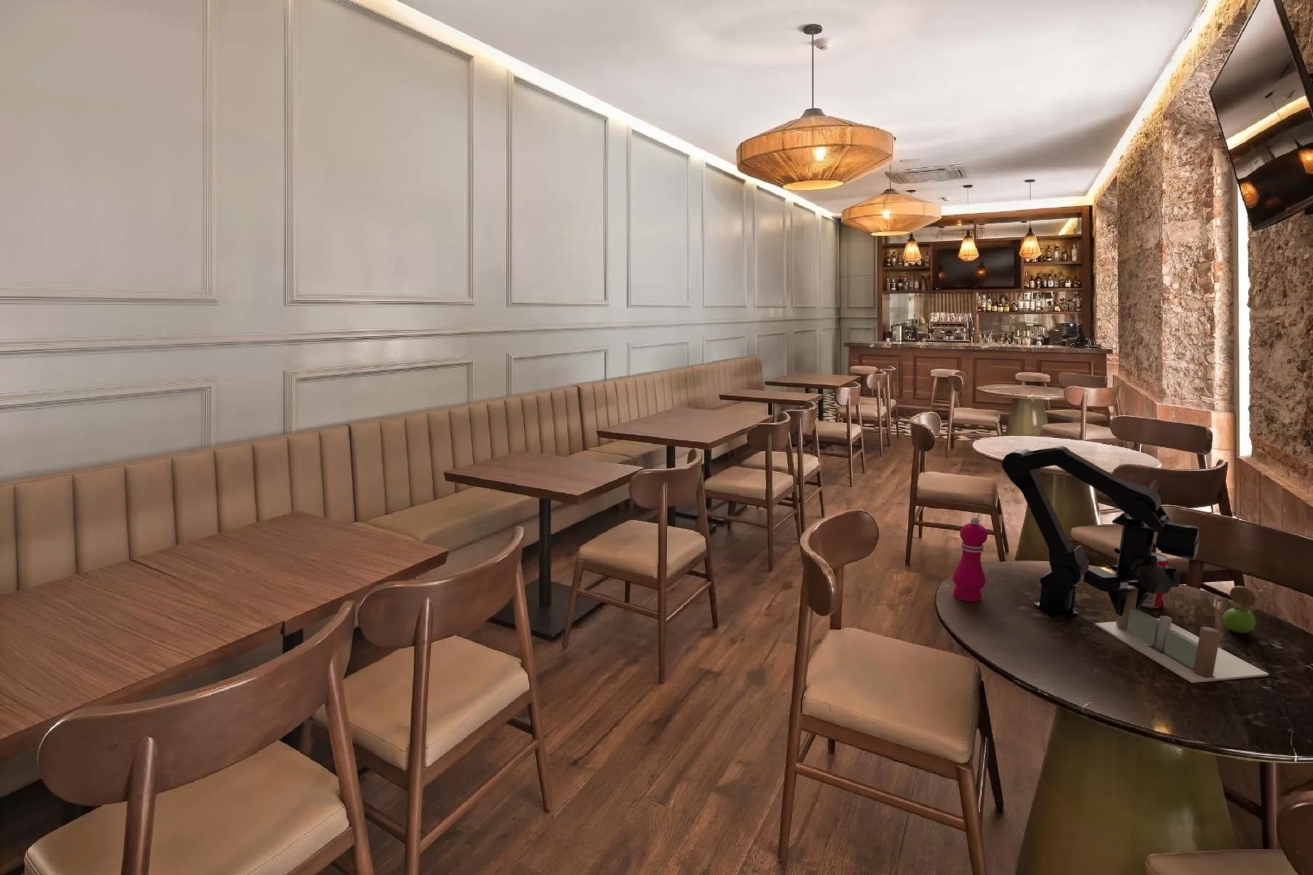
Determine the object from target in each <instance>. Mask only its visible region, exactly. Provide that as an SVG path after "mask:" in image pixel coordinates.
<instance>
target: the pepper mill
mask: <svg viewBox="0 0 1313 875" xmlns="http://www.w3.org/2000/svg"><path fill="white" fill-rule="evenodd" d="M979 523H980V520H979V518H978V517H972V518H971V519H970V523H966V524H964V525H962V527H961V529H960V530H959V537H960V539H961V543H960V544H961V545H960V549H961V553H962V554H961V558H960V561H959V563H958V564H957V566H956V567H955V569H954V572H953V574H952V582H953V584H955V586H954V587H953V592H952V594H953V596H954V598H956V599H958V600H961V601H964V602H969V603H970V602H971V603H973V602H974V603H976V602H979V601H981V599H982V596H983V595H982V594H983V591H982V589H983V588H984V587H985V585H986V575H985V573H984V569H983V567H982V566H983V565H982V562H981V558H982V557H981V556H982V552H984V548H985V545H984V544H985V543H986V542H987V539H988V531H987V529H986V528H985V527H984V526H983V525H981V524H979Z"/></svg>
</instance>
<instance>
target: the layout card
mask: <svg viewBox="0 0 1313 875" xmlns="http://www.w3.org/2000/svg"><path fill="white" fill-rule="evenodd" d="M1156 619H1157V620H1160V617H1158V618H1156ZM1116 622H1117V621H1107V622H1106V621H1105V622H1096V623H1094V625H1095V626H1096V627H1098V628H1099V629H1101V630H1103V631H1105V632H1106V633H1107V634H1109V635H1111V636H1112V637H1114V638H1116V639H1118V640H1119V641H1121V642H1123V643H1124V644H1126V645H1128V646H1130V647H1131V648H1133V649H1134V650H1136V651H1138V652H1139V653H1140V654H1143V655H1145V656H1146V657H1148V658H1149V659H1151V660H1152V661H1155V663H1158V664H1159V665H1161V666H1163V667H1165V668H1166V669H1168V670H1169V671H1171V672H1173V673H1174V674H1176V675H1178V676H1180V677H1181V678H1182V679H1184V680H1186V681H1188V682H1189V683H1191V684H1193V683H1205V682H1206V683H1207V682H1217V681H1227V680H1237V679H1248V678H1257V677H1259V678H1260V677H1269V673H1268V672H1266V671H1264V670H1263V669H1260V668H1258V667H1256V666H1254V665H1252V664H1251V663H1249V662H1247V661H1245V660H1243V659H1242V658H1239V657H1238V656H1235V655H1233V654H1231V653H1230V652H1227V651H1226V650H1224V649H1223V648H1220V647H1218V651H1217V656H1216V662H1215V667H1214V673H1213V677H1204V676H1203V677H1202V676H1199V675H1197V674H1195V673H1194V672H1193V670H1194V669H1192V668H1190V667H1189V666H1187V665H1185V664H1183V663H1182V662H1180V661H1178V660H1176V659H1175V658H1173V657H1171V656H1170V655H1168V654H1166V653H1164V651H1160V650H1157V649H1156V648H1155V645H1153V644H1151V643H1150V642H1148V641H1146V640H1144V639H1143V638H1141V637H1139V636H1137V635H1136V634H1134V633H1132V632H1130V631H1129V630H1127V629H1122V628H1119V627H1118V626H1116ZM1170 630H1174V631H1176V632H1178V633H1180V634H1182V635H1184V636H1186V637H1187V638H1189V639H1191V640H1193V641H1195V642H1197V643H1198V641H1199V636H1197V635H1195V634H1194V633H1192V632H1189V631H1188V630H1186V629H1184V628H1182V627H1180V626H1179V625H1176V624H1174V623H1171V629H1170Z"/></svg>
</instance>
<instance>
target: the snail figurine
mask: <svg viewBox="0 0 1313 875" xmlns="http://www.w3.org/2000/svg"><path fill="white" fill-rule="evenodd" d="M1268 588H1269V586H1268V585H1265V586H1263V589H1259V590H1258V591H1257V596H1256V597H1255V594H1254V592H1253V591H1252V590H1251V589H1250V588H1248V587H1247V586H1243V585H1236V586H1233V587H1232V588H1231V589H1230V591H1229V597H1230V599H1228V600H1227V601H1228V603H1229V604H1230V606H1232V607H1231V608H1229V609H1227V610H1226V611H1225V612H1224V614H1223V616H1222V620H1223V621H1222V622H1223V623H1224V626H1225V627H1226V628H1227V629H1228V630H1230V631H1232V632H1233V633H1237V634H1246V633H1250V632H1251V631H1253V629H1254V628H1255V627H1256V617H1255V616H1254V615H1253V613H1252V612H1251V611H1256V610H1257V609H1258V608H1259V607H1260V606H1261V604H1262V602H1263V601H1264V598H1265V597H1266V596H1267V589H1268Z"/></svg>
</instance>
